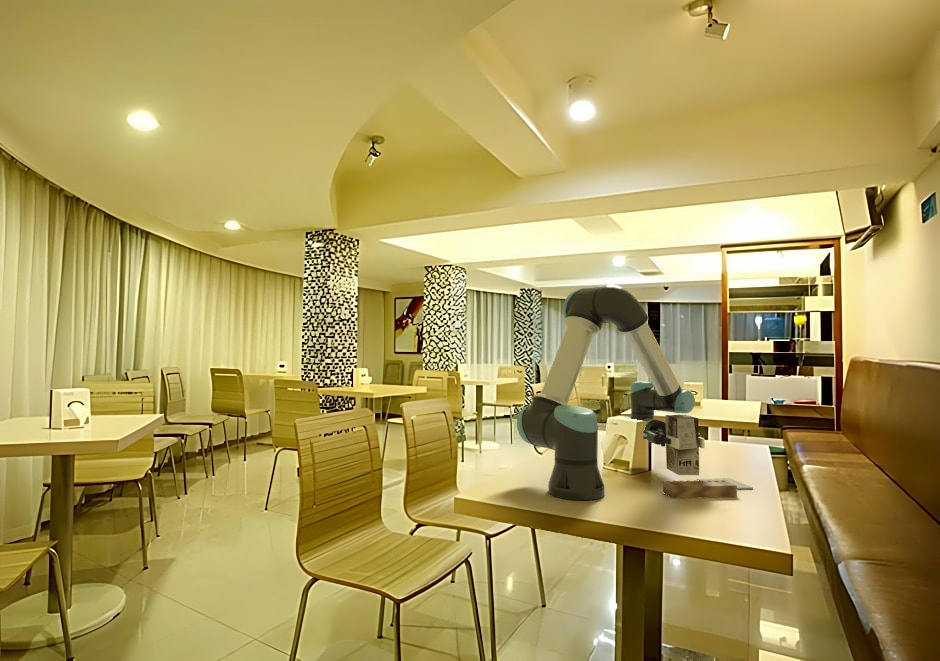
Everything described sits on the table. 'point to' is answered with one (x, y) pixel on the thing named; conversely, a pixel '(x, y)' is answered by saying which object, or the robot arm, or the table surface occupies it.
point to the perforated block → (699, 489)
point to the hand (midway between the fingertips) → (690, 443)
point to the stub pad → (739, 484)
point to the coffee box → (683, 444)
